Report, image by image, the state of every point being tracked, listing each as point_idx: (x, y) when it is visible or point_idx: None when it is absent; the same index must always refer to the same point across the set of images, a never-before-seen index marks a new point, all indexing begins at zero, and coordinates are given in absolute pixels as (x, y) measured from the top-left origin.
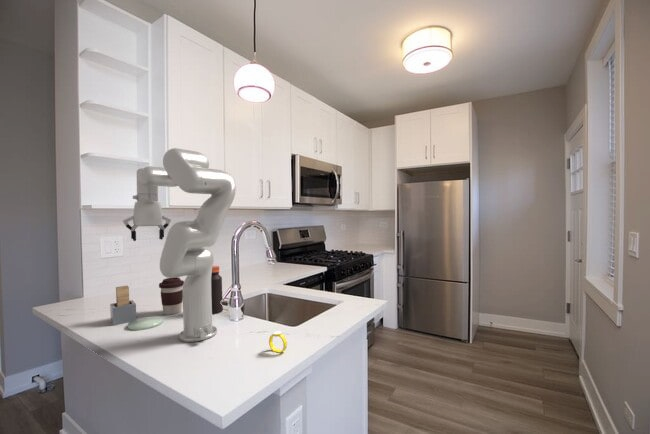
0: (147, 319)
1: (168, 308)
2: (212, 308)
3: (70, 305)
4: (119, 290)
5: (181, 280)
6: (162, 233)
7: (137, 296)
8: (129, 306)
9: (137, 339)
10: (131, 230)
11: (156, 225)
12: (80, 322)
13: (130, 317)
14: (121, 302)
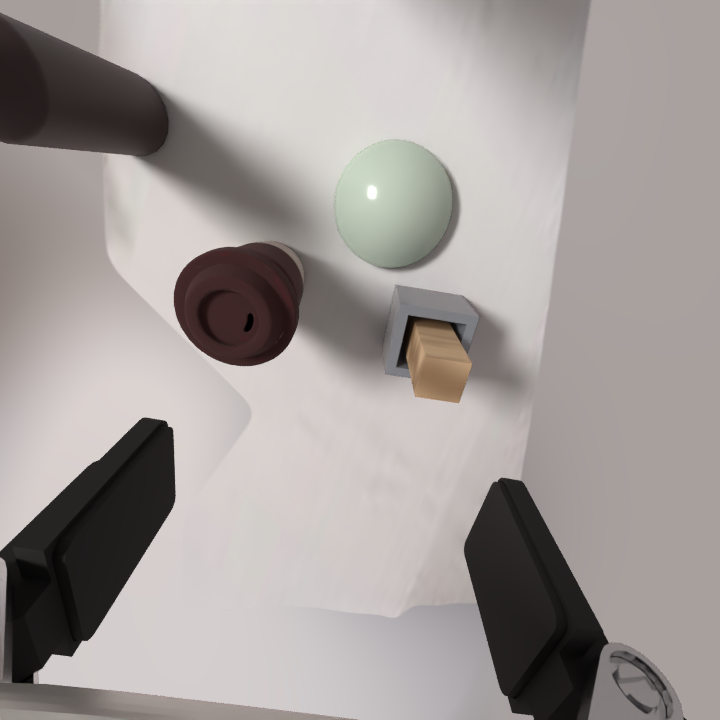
0: (378, 230)
1: (290, 255)
2: (135, 77)
3: (449, 571)
4: (461, 358)
5: (181, 315)
6: (78, 482)
7: (300, 534)
8: (422, 305)
9: (483, 36)
10: (648, 666)
11: (50, 696)
12: (500, 409)
13: (414, 291)
14: (444, 334)
